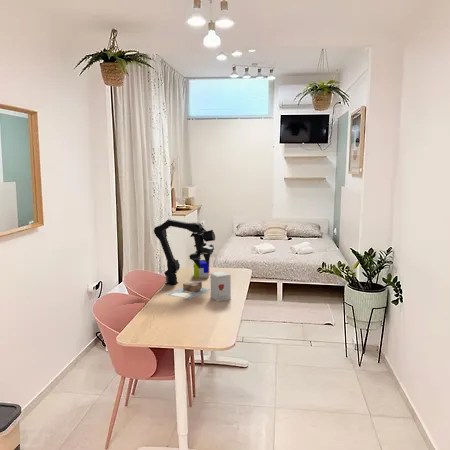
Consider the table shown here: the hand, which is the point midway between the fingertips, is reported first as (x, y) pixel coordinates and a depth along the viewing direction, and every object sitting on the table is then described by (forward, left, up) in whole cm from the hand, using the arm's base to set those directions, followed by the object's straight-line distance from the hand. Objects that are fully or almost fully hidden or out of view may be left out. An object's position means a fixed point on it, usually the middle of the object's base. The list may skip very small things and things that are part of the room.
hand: (204, 266), depth 276 cm
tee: (-1, -10, -13) cm, 16 cm away
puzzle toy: (-16, +19, -13) cm, 28 cm away
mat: (-1, -16, -13) cm, 20 cm away
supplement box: (+23, -17, -13) cm, 32 cm away
